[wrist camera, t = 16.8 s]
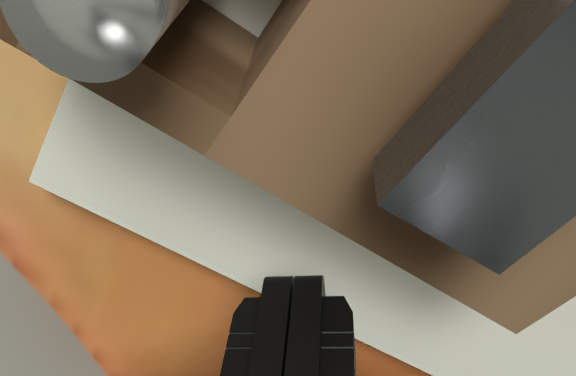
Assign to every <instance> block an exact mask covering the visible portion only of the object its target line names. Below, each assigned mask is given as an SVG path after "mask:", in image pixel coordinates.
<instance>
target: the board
mask: <svg viewBox="0 0 576 376" xmlns="http://www.w3.org/2000/svg"><path fill="white" fill-rule="evenodd" d="M202 1H204V2H205V3H207V4H208V5H210V6H211V7H213V8H214V9H216V10H217V11H219V12H220V13H222V14H223V15H225V16H226V17H228V18H229V19H231V20H232V21H234V22H235V23H237V24H238V25H240V26H241V27H243V28H244V29H246V30H247V31H249V32H250V33H252V34H253V35H255V36H256V37H259V36H260V34H261V33H262V31H263V29H264V28H265V26H266V25H267V23H268V22H269V20H270V19H271V17H272V16H273V14H274V13H275V11H276V9H277V8H278V6H279V5H280V3H281V2H282V0H202ZM29 182H31V183H33V184H35V185H37V186H39V187H41V188H43V189H45V190H47V191H49V192H51V193H54V194H56V195H58V196H60V197H62V198H64V199H66V200H68V201H70V202H72V203H74V204H76V205H79V206H81V207H83V208H85V209H87V210H89V211H91V212H93V213H95V214H97V215H99V216H101V217H104V218H106V219H108V220H110V221H112V222H114V223H116V224H118V225H120V226H122V227H124V228H126V229H128V230H131V231H133V232H135V233H137V234H139V235H141V236H143V237H145V238H147V239H149V240H151V241H153V242H156V243H158V244H160V245H162V246H164V247H166V248H168V249H170V250H172V251H174V252H176V253H178V254H181V255H183V256H185V257H187V258H189V259H191V260H193V261H195V262H197V263H199V264H201V265H203V266H205V267H208V268H210V269H212V270H214V271H216V272H218V273H220V274H222V275H224V276H226V277H228V278H230V279H233V280H235V281H237V282H239V283H241V284H243V285H245V286H247V287H249V288H251V289H253V290H255V291H258V292H260V293H261V292H262V286H263V281H264V278H265V277H272V276H293V277H295V276H311V275H323V277H324V284H325V294H326V296H344V297H345V298H346V300H347V302H348V304H349V306H350V308H351V309H352V311H353V321H354V338H355V339H357V340H359V341H362V342H364V343H366V344H368V345H370V346H372V347H374V348H376V349H378V350H380V351H382V352H384V353H387V354H389V355H391V356H393V357H395V358H397V359H399V360H401V361H403V362H405V363H407V364H409V365H412V366H414V367H416V368H418V369H420V370H422V371H424V372H426V373H428V374H430V375H432V376H576V296H575V297H574V298H572V299H571V300H569V301H567V302H566V303H564V304H563V305H561V306H560V307H558V308H556V309H555V310H553V311H552V312H550V313H549V314H547V315H546V316H544V317H542V318H541V319H539V320H538V321H536V322H535V323H533V324H532V325H530V326H528V327H527V328H525V329H524V330H522V331H521V332H519V333H518V334H515V333H513V332H511V331H510V330H508V329H506V328H504V327H503V326H501V325H499V324H497V323H496V322H494V321H492V320H490V319H489V318H487V317H485V316H483V315H482V314H480V313H478V312H476V311H475V310H473V309H471V308H469V307H468V306H466V305H464V304H462V303H461V302H459V301H457V300H455V299H454V298H452V297H450V296H448V295H447V294H445V293H443V292H441V291H440V290H438V289H436V288H434V287H433V286H431V285H429V284H427V283H426V282H424V281H422V280H421V279H419V278H417V277H415V276H414V275H412V274H410V273H408V272H407V271H405V270H403V269H401V268H400V267H398V266H396V265H394V264H393V263H391V262H389V261H387V260H386V259H384V258H382V257H380V256H379V255H377V254H375V253H373V252H372V251H370V250H368V249H366V248H365V247H363V246H361V245H359V244H358V243H356V242H354V241H352V240H351V239H349V238H347V237H345V236H344V235H342V234H340V233H338V232H337V231H335V230H333V229H331V228H330V227H328V226H326V225H324V224H323V223H321V222H319V221H317V220H316V219H314V218H312V217H310V216H309V215H307V214H305V213H303V212H302V211H300V210H298V209H296V208H295V207H293V206H291V205H289V204H288V203H286V202H284V201H282V200H281V199H279V198H277V197H276V196H274V195H272V194H270V193H269V192H267V191H265V190H263V189H262V188H260V187H258V186H256V185H255V184H253V183H251V182H249V181H248V180H246V179H244V178H242V177H241V176H239V175H237V174H235V173H234V172H232V171H230V170H228V169H227V168H225V167H223V166H221V165H220V164H218V163H216V162H214V161H213V160H211V159H209V158H207V157H206V156H204V155H202V154H200V153H199V152H197V151H195V150H193V149H192V148H190V147H188V146H186V145H185V144H183V143H181V142H179V141H178V140H176V139H174V138H172V137H171V136H169V135H167V134H165V133H164V132H162V131H160V130H158V129H157V128H155V127H153V126H151V125H150V124H148V123H146V122H144V121H143V120H141V119H139V118H138V117H136V116H134V115H132V114H131V113H129V112H127V111H125V110H124V109H122V108H120V107H118V106H117V105H115V104H113V103H111V102H110V101H108V100H106V99H104V98H103V97H101V96H99V95H97V94H96V93H94V92H92V91H90V90H89V89H87V88H85V87H83V86H82V85H80V84H78V83H76V82H75V81H73V80H71V79H68V82H67V84H66V87H65V90H64V92H63V95H62V97H61V100H60V102H59V105H58V107H57V110H56V113H55V115H54V118H53V120H52V123H51V125H50V128H49V130H48V133H47V136H46V138H45V141H44V143H43V146H42V148H41V151H40V153H39V156H38V159H37V161H36V164H35V166H34V169H33V171H32V174H31V176H30V179H29Z"/></svg>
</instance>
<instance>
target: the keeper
mask: <svg viewBox="0 0 576 376" xmlns="http://www.w3.org/2000/svg"><path fill="white" fill-rule="evenodd" d="M372 162H373V171H374V180H375V189H376V199H377V205H378V206H380V207H381V208H383V209H385V210H387V211H388V212H390V213H392V214H394V215H395V216H397V217H399V218H401V219H402V220H404V221H406V222H408V223H409V224H411V225H413V226H415V227H416V228H418V229H420V230H422V231H423V232H425V233H427V234H429V235H430V236H432V237H434V238H436V239H437V240H439V241H441V242H443V243H444V244H446V245H448V246H450V247H451V248H453V249H455V250H457V251H458V252H460V253H462V254H464V255H465V256H467V257H469V258H471V259H472V260H474V261H476V262H478V263H479V264H481V265H483V266H485V267H486V268H488V269H490V270H492V271H493V272H495V273H497V274H499V275H500V274H501V273H502V272H504V271H505V270H506V269H508V268H509V267H510V266H511V265H513V264H514V263H515V262H517V261H518V260H519V259H521V258H522V257H523V256H524V255H526V254H527V253H528V252H530V251H531V250H532V249H534V248H535V247H536V246H537V245H539V244H540V243H541V242H543V241H544V240H545V239H547V238H548V237H549V236H550V235H552V234H553V233H554V232H556V231H557V230H558V229H560V228H561V227H562V226H563V225H565V224H566V223H567V222H569V221H570V220H571V219H573V218H574V217H575V216H576V0H515V1H514V2H513V3H512V4H511V5H510V6H509V7H508V8H507V10H506V11H505V12H504V13H503V14H502V15H501V16H500V17H499V19H498V20H497V21H496V22H495V23H494V24H493V25H492V26H491V27H490V29H489V30H488V31H487V32H486V33H485V34H484V35H483V36H482V38H481V39H480V40H479V41H478V42H477V43H476V44H475V45H474V47H473V48H472V49H471V50H470V51H469V52H468V53H467V54H466V56H465V57H464V58H463V59H462V60H461V61H460V62H459V63H458V65H457V66H456V67H455V68H454V69H453V70H452V71H451V72H450V74H449V75H448V76H447V77H446V78H445V79H444V80H443V81H442V83H441V84H440V85H439V86H438V87H437V88H436V89H435V90H434V92H433V93H432V94H431V95H430V96H429V97H428V98H427V99H426V101H425V102H424V103H423V104H422V105H421V106H420V107H419V108H418V110H417V111H416V112H415V113H414V114H413V115H412V116H411V117H410V119H409V120H408V121H407V122H406V123H405V124H404V125H403V126H402V128H401V129H400V130H399V131H398V132H397V133H396V134H395V135H394V137H393V138H392V139H391V140H390V141H389V142H388V143H387V144H386V146H385V147H384V148H383V149H382V150H381V151H380V152H379V153H378V155H377V156H376V157H375V158H374V159H373V160H372Z"/></svg>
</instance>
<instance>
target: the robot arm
mask: <svg viewBox="0 0 576 376" xmlns="http://www.w3.org/2000/svg"><path fill="white" fill-rule="evenodd" d="M220 376H356V358H355V338H354V321H353V311H352V309H351V308H350V306H349V304H348V302H347V300H346V298H345V297H344V296H326V294H325V284H324V277H323V275H311V276H295V277H293V276H272V277H265V278H264V281H263V286H262V292H261V297H257V298H244V300H243V301H242V302H241V304H240V305H239V307H238V308H237V309H236V311H235V312H234V314H233V318H232V323H231V327H230V335H229V336H228V341H227V346H226V350H225V355H224V359H223V364H222V369H221V373H220Z"/></svg>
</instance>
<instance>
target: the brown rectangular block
mask: <svg viewBox="0 0 576 376" xmlns="http://www.w3.org/2000/svg"><path fill="white" fill-rule="evenodd" d="M514 1H515V0H282V2H281V3H280V5H279V6H278V8H277V9H276V11H275V13H274V14H273V16H272V17H271V19H270V20H269V22H268V23H267V25H266V26H265V28H264V29H263V31H262V33H261V34H260V36H259V37H256V36H255V35H253V34H252V33H250V32H249V31H247V30H246V29H244V28H243V27H241V26H240V25H238V24H237V23H235V22H234V21H232V20H231V19H229V18H228V17H226V16H225V15H223V14H222V13H220V12H219V11H217V10H216V9H214V8H213V7H211V6H210V5H208V4H207V3H205V2H204V1H202V0H190V1H189V2H188V3H187V4H186V6H185V7H184V8H183V9H182V11H181V12H180V13H179V15H178V16H177V17H176V18H175V20H174V21H173V22H172V24H171V25H170V26H169V27H168V29H167V30H166V31H165V32H164V34H163V35H162V36H161V38H160V39H159V40H158V41H157V43H156V44H155V45H154V47H153V48H152V49H151V50H150V52H149V53H148V54H147V55H146V57H145V58H144V59H143V61H142V62H141V63H140V64H139V65H138V67H136V68H135V69H134V70H133V71H132V72H130V73H129V74H127V75H126V76H124V77H122V78H119V79H117V80H113V81H110V82H103V83H88V82H81V81H77V80H73V79H71V80H73V81H75V82H76V83H78V84H80V85H82V86H83V87H85V88H87V89H89V90H90V91H92V92H94V93H96V94H97V95H99V96H101V97H103V98H104V99H106V100H108V101H110V102H111V103H113V104H115V105H117V106H118V107H120V108H122V109H124V110H125V111H127V112H129V113H131V114H132V115H134V116H136V117H138V118H139V119H141V120H143V121H144V122H146V123H148V124H150V125H151V126H153V127H155V128H157V129H158V130H160V131H162V132H164V133H165V134H167V135H169V136H171V137H172V138H174V139H176V140H178V141H179V142H181V143H183V144H185V145H186V146H188V147H190V148H192V149H193V150H195V151H197V152H199V153H200V154H202V155H204V156H206V157H207V158H209V159H211V160H213V161H214V162H216V163H218V164H220V165H221V166H223V167H225V168H227V169H228V170H230V171H232V172H234V173H235V174H237V175H239V176H241V177H242V178H244V179H246V180H248V181H249V182H251V183H253V184H255V185H256V186H258V187H260V188H262V189H263V190H265V191H267V192H269V193H270V194H272V195H274V196H276V197H277V198H279V199H281V200H282V201H284V202H286V203H288V204H289V205H291V206H293V207H295V208H296V209H298V210H300V211H302V212H303V213H305V214H307V215H309V216H310V217H312V218H314V219H316V220H317V221H319V222H321V223H323V224H324V225H326V226H328V227H330V228H331V229H333V230H335V231H337V232H338V233H340V234H342V235H344V236H345V237H347V238H349V239H351V240H352V241H354V242H356V243H358V244H359V245H361V246H363V247H365V248H366V249H368V250H370V251H372V252H373V253H375V254H377V255H379V256H380V257H382V258H384V259H386V260H387V261H389V262H391V263H393V264H394V265H396V266H398V267H400V268H401V269H403V270H405V271H407V272H408V273H410V274H412V275H414V276H415V277H417V278H419V279H421V280H422V281H424V282H426V283H427V284H429V285H431V286H433V287H434V288H436V289H438V290H440V291H441V292H443V293H445V294H447V295H448V296H450V297H452V298H454V299H455V300H457V301H459V302H461V303H462V304H464V305H466V306H468V307H469V308H471V309H473V310H475V311H476V312H478V313H480V314H482V315H483V316H485V317H487V318H489V319H490V320H492V321H494V322H496V323H497V324H499V325H501V326H503V327H504V328H506V329H508V330H510V331H511V332H513V333H515V334H518V333H519V332H521V331H522V330H524V329H525V328H527V327H528V326H530V325H532V324H533V323H535V322H536V321H538V320H539V319H541V318H542V317H544V316H546V315H547V314H549V313H550V312H552V311H553V310H555V309H556V308H558V307H560V306H561V305H563V304H564V303H566V302H567V301H569V300H571V299H572V298H574V297H575V296H576V216H575V217H574V218H573V219H571V220H570V221H569V222H567V223H566V224H565V225H563V226H562V227H561V228H560V229H558V230H557V231H556V232H554V233H553V234H552V235H550V236H549V237H548V238H547V239H545V240H544V241H543V242H541V243H540V244H539V245H537V246H536V247H535V248H534V249H532V250H531V251H530V252H528V253H527V254H526V255H524V256H523V257H522V258H521V259H519V260H518V261H517V262H515V263H514V264H513V265H511V266H510V267H509V268H508V269H506V270H505V271H504V272H502V273H501V274H500V275H499V274H497V273H495V272H493V271H492V270H490V269H488V268H486V267H485V266H483V265H481V264H479V263H478V262H476V261H474V260H472V259H471V258H469V257H467V256H465V255H464V254H462V253H460V252H458V251H457V250H455V249H453V248H451V247H450V246H448V245H446V244H444V243H443V242H441V241H439V240H437V239H436V238H434V237H432V236H430V235H429V234H427V233H425V232H423V231H422V230H420V229H418V228H416V227H415V226H413V225H411V224H409V223H408V222H406V221H404V220H402V219H401V218H399V217H397V216H395V215H394V214H392V213H390V212H388V211H387V210H385V209H383V208H381V207H380V206H378V205H377V199H376V189H375V180H374V171H373V162H372V160H373V159H374V158H375V157H376V156H377V155H378V153H379V152H380V151H381V150H382V149H383V148H384V147H385V146H386V144H387V143H388V142H389V141H390V140H391V139H392V138H393V137H394V135H395V134H396V133H397V132H398V131H399V130H400V129H401V128H402V126H403V125H404V124H405V123H406V122H407V121H408V120H409V119H410V117H411V116H412V115H413V114H414V113H415V112H416V111H417V110H418V108H419V107H420V106H421V105H422V104H423V103H424V102H425V101H426V99H427V98H428V97H429V96H430V95H431V94H432V93H433V92H434V90H435V89H436V88H437V87H438V86H439V85H440V84H441V83H442V81H443V80H444V79H445V78H446V77H447V76H448V75H449V74H450V72H451V71H452V70H453V69H454V68H455V67H456V66H457V65H458V63H459V62H460V61H461V60H462V59H463V58H464V57H465V56H466V54H467V53H468V52H469V51H470V50H471V49H472V48H473V47H474V45H475V44H476V43H477V42H478V41H479V40H480V39H481V38H482V36H483V35H484V34H485V33H486V32H487V31H488V30H489V29H490V27H491V26H492V25H493V24H494V23H495V22H496V21H497V20H498V19H499V17H500V16H501V15H502V14H503V13H504V12H505V11H506V10H507V8H508V7H509V6H510V5H511V4H512V3H513V2H514ZM0 39H1V40H3V41H5V42H6V43H8V44H10V45H12V46H13V47H15V48H17V49H19V50H20V51H22V52H24V53H26V54H27V55H29V56H31V57H33V56H32V55H31V54H29V53H28V52H27V50H26V49H25V48H24V47H23V46H22V45H21V44H20V42H19V41H18V40H17V38H16V37H15V36H14V34H13V32H12V31H11V29H10V27H9V26H8V24H7V22H6V19H5V17H4V15H3V12H2V9H1V6H0ZM33 58H34V57H33ZM34 59H35V58H34ZM69 79H70V78H69Z"/></svg>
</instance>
